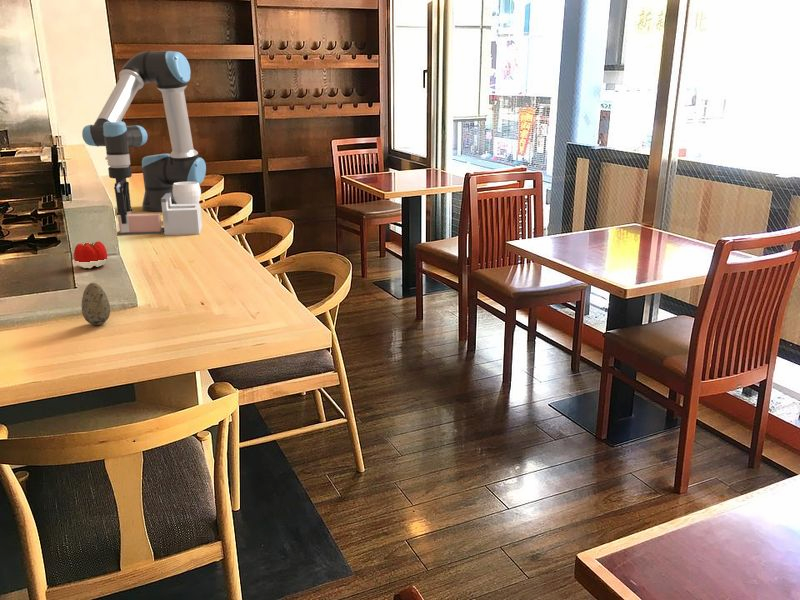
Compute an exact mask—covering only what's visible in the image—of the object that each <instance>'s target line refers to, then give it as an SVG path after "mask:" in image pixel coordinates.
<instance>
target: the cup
mask: <svg viewBox="0 0 800 600" xmlns="http://www.w3.org/2000/svg"><path fill="white" fill-rule="evenodd" d="M201 196H202V189H201V186H200V184H199V183H198V182H177V183H174V184H173V197H174V199H175V202H176V203H177V204H200V200H201Z"/></svg>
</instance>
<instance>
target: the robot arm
mask: <svg viewBox="0 0 800 600" xmlns="http://www.w3.org/2000/svg"><path fill="white" fill-rule="evenodd" d="M191 73H192V72H191V67H190V63H189V61H188V59H187V58H186V56H185V55H184V54H183V53H181V52H179V51H171V50H166V51H165V50H163V51H162V50H159V51H158V50H157V51H150V50H149V51H142V52H138V53H137V54H135V55H134V56H132V57H131V58H130V59H129V60H128V61H127V62H126V63H125V64H124V65H123V67H122V68H121V70H120V71H119V73H118V78H119V79H118V80H117V83H116V84H115V86H114V88H113V89H112V92H111V93H110V95H109V96H108V99H107V100H106V102H105V104H104V105H103V107H102V110H101V111H100V113H99V115H98V117H97V118H96V120H95V122H94V124H88V125H85V126H84V127H83V129H82V132H81V133H82V134H81V135H82V136H81V137H82V140H83V141H84V144H86V145H87V146H91V147H105V152H106V156H105V160H106V161H107V162H106V163H107V166H108V168H107V169H108V177H109V178H110V179H115V183H114V187H113V189H114V193H115V201H116V208H117V209H116V210H117V213H116V215H118V216H119V215H120V223H121V231H122V232H130V228H129V220H128V214H132V213H131V212H133V208H132V206H131V205H132V203H131V196H130V194H131V193H130V184H129V181H127V179H128V178H131V177H132V175H133V174H132V167H131V156H130V151H129V149H130V148H134V147H137V148H138V147H141V146H143V145H146V143H147V141H148V133H147V130H146V129H145V128H144V127H143V126H141V125H136V124H135V125H134V124H132V125H127V124H126V122H125V121H122V120H123V119H124V116H125V115H126V112H127V111H128V109H129V108H130V106H131V103H132V102H133V100H134V98H135V96H136V94H137V93H138V91H139V90H141V89H143V87H144V85H145V84H148V83H155V84H156V89H157V90H159V91H160V92H161V96H162V100H163V106H164V112H165V117H166V118H165V119H166V123H167V129H168V133H169V139H170V144H171V150H172V151H171V152H170V153H161V154H153V155H146V156H144V157H142V160H141V169H142V175H143V185H144V194H143V200H142V205H141V206H142V210H143V211H147V212H162V204H161V198H162V197H163V196H164V195H165V194H166V193H171V203H172V204H177V203H176V202H175V199H174V197H173V184H174V183H177V182H198V183H199V185H201V184H202V183H203V181H204V180H205V177H206V173H207V166H206V165H207V164H206V161H205V160H204V159H203V158H202V157H199V156H200V155H199V152H198V151H197V150H196V149H194V144H193V137H192V131H191V126H190V120H189V115H188V114H189V113H188V108H187V100H186V96H185V90H186V89H187V86H188V85H187V83H188V82H190V79H191Z"/></svg>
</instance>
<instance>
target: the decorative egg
mask: <svg viewBox="0 0 800 600" xmlns="http://www.w3.org/2000/svg"><path fill="white" fill-rule="evenodd" d="M110 305H111V304H110V301H109V298H108V296H107V294H106V292H105V291H104V289H103V288H102V287H101V285H100V284H98V283H96V282H91V283H89V284H88V285H86V287H85V289H84V291H83V294H82V299H81V312H82V314H81V315H82V317H83V318H84V320H85V321H86V322H87V323H88V324H91V325H93V326H99V325H103V324H105V323H106V322H107V321H108V319H109V318H110V315H111V306H110Z"/></svg>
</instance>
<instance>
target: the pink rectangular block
mask: <svg viewBox="0 0 800 600" xmlns="http://www.w3.org/2000/svg"><path fill="white" fill-rule="evenodd" d="M128 220H129V228H130V232H159V231H161V230H162V227H163V226H162V219H161V213H159V212H157V213H155V212H152V213H131V214H128ZM117 221H118V229H119V231H120V233H130V232H122V231H121V223H120V215H118V216H117Z"/></svg>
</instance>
